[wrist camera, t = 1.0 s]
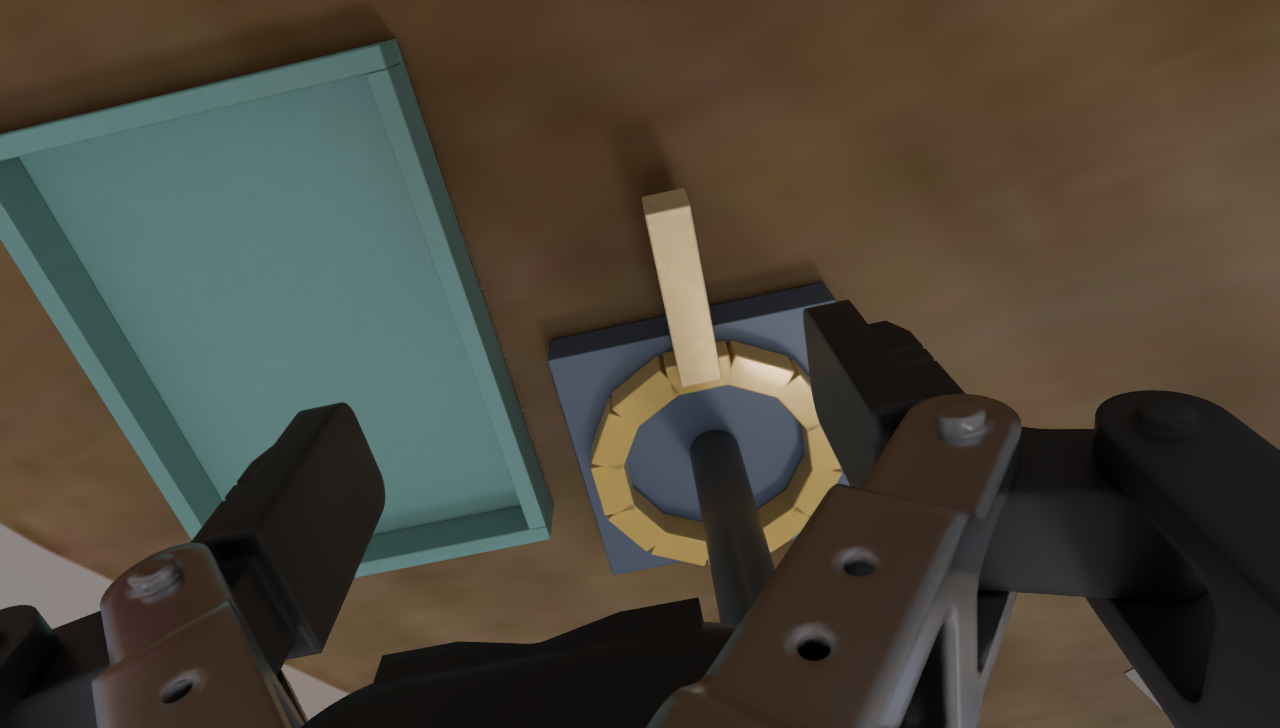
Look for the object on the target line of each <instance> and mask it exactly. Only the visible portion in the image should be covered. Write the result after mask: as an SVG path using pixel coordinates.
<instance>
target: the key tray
mask: <svg viewBox="0 0 1280 728" xmlns="http://www.w3.org/2000/svg"><path fill="white" fill-rule="evenodd" d="M0 240H1V241H2V243H3V244H4V246H5V247H6V249H7V251H8V252H9V254H10V255H11V257H12V258H13V260H14V262H15V263H16V265H17V266H18V268H19V269H20V271H21V273H22V274H23V276H24V277H25V279H26V280H27V282H28V284H29V285H30V287H31V288H32V290H33V291H34V293H35V295H36V296H37V298H38V299H39V301H40V302H41V304H42V306H43V307H44V309H45V310H46V312H47V313H48V315H49V317H50V318H51V320H52V321H53V323H54V324H55V326H56V328H57V329H58V331H59V332H60V334H61V335H62V337H63V339H64V340H65V342H66V343H67V345H68V346H69V348H70V350H71V351H72V353H73V354H74V356H75V357H76V359H77V361H78V362H79V364H80V365H81V367H82V368H83V370H84V372H85V373H86V375H87V376H88V378H89V379H90V381H91V383H92V384H93V386H94V387H95V389H96V390H97V392H98V394H99V395H100V397H101V398H102V400H103V401H104V403H105V405H106V406H107V408H108V409H109V411H110V412H111V414H112V416H113V417H114V419H115V420H116V422H117V423H118V425H119V426H120V428H121V430H122V431H123V433H124V434H125V436H126V437H127V439H128V441H129V442H130V444H131V445H132V447H133V448H134V450H135V452H136V453H137V455H138V456H139V458H140V459H141V461H142V463H143V464H144V466H145V467H146V469H147V470H148V472H149V474H150V475H151V477H152V478H153V480H154V481H155V483H156V485H157V486H158V488H159V489H160V491H161V492H162V494H163V496H164V497H165V499H166V500H167V502H168V503H169V505H170V507H171V508H172V510H173V511H174V513H175V514H176V516H177V518H178V519H179V521H180V522H181V524H182V525H183V527H184V529H185V530H186V532H187V533H188V535H189V536H190V538H191V540H193V538H194V537H195V536H196V534H197V533H198V532H199V530H200V529H201V528H202V527H203V525H204V524H205V523H206V521H207V520H208V519H209V517H210V516H211V515H212V513H213V512H214V511H215V509H216V508H217V507H218V505H219V504H220V503H221V502H222V501H225V496H226V495H227V494H228V492H229V491H230V490H231V488H232V487H233V486H234V485H237V480H238V479H239V478H240V477H241V475H242V474H243V473H244V471H245V470H246V469H247V467H248V466H249V465H250V463H251V462H252V461H254V460H255V459H256V458H257V457H259V456H260V455H261V454H262V453H264V452H265V451H266V450H267V449H269V448H270V447H271V446H273V445H274V444H275V442H276V441H277V440H278V438H279V437H280V436H281V434H282V433H283V432H284V430H285V429H286V428H287V426H288V425H289V424H290V422H291V421H292V420H293V418H294V417H295V415H296V414H297V413H298V412H299V411H301V410H306V409H311V408H316V407H321V406H326V405H331V404H335V403H340V402H344V403H346V404H348V405H349V406H350V407H351V408H352V410H353V411H354V413H355V415H356V417H357V420H358V422H359V424H360V426H361V429H362V431H363V433H364V436H365V438H366V440H367V442H368V445H369V447H370V449H371V451H372V454H373V456H374V458H375V461H376V463H377V465H378V467H379V470H380V472H381V474H382V477H383V481H384V485H385V506H384V510H383V512H382V515H381V517H380V519H379V521H378V524H377V526H376V528H375V531H374V533H373V535H372V538H371V540H370V542H369V544H368V547H367V549H366V551H365V554H364V556H363V558H362V561H361V563H360V565H359V568H358V570H357V572H356V574H355V577H354V578H356V577H361V576H366V575H371V574H377V573H382V572H387V571H392V570H397V569H402V568H407V567H412V566H417V565H422V564H427V563H432V562H437V561H442V560H447V559H452V558H457V557H462V556H468V555H473V554H478V553H483V552H488V551H493V550H498V549H503V548H508V547H513V546H518V545H523V544H528V543H533V542H538V541H543V540H548V539H550V537H551V526H552V515H553V504H552V501H551V498H550V495H549V492H548V489H547V486H546V483H545V480H544V477H543V474H542V471H541V468H540V465H539V462H538V459H537V456H536V453H535V450H534V448H533V445H532V442H531V439H530V436H529V433H528V430H527V427H526V424H525V421H524V418H523V415H522V412H521V409H520V406H519V403H518V400H517V397H516V394H515V391H514V388H513V385H512V382H511V379H510V376H509V373H508V370H507V367H506V364H505V361H504V358H503V355H502V352H501V349H500V346H499V343H498V341H497V338H496V335H495V332H494V329H493V326H492V323H491V320H490V317H489V314H488V311H487V308H486V305H485V302H484V299H483V296H482V293H481V290H480V287H479V284H478V281H477V278H476V275H475V272H474V269H473V266H472V263H471V260H470V257H469V254H468V251H467V248H466V245H465V242H464V239H463V236H462V234H461V231H460V228H459V225H458V222H457V219H456V216H455V213H454V210H453V207H452V204H451V201H450V198H449V195H448V192H447V189H446V186H445V183H444V180H443V177H442V174H441V171H440V168H439V165H438V162H437V159H436V156H435V153H434V150H433V147H432V144H431V141H430V138H429V135H428V132H427V129H426V127H425V124H424V121H423V118H422V115H421V112H420V109H419V106H418V103H417V100H416V97H415V94H414V91H413V88H412V85H411V82H410V79H409V76H408V73H407V70H406V67H405V64H404V61H403V58H402V55H401V52H400V49H399V46H398V43H397V40H396V39H392V40H388V41H383V42H379V43H375V44H371V45H367V46H363V47H358V48H354V49H350V50H346V51H342V52H338V53H334V54H329V55H325V56H321V57H317V58H313V59H309V60H304V61H300V62H296V63H292V64H288V65H284V66H279V67H275V68H271V69H267V70H263V71H259V72H255V73H250V74H246V75H242V76H238V77H234V78H230V79H225V80H221V81H217V82H213V83H209V84H205V85H200V86H196V87H192V88H188V89H184V90H180V91H176V92H171V93H167V94H163V95H159V96H155V97H151V98H146V99H142V100H138V101H134V102H130V103H126V104H121V105H117V106H113V107H109V108H105V109H101V110H97V111H92V112H88V113H84V114H80V115H76V116H72V117H67V118H63V119H59V120H55V121H51V122H47V123H42V124H38V125H34V126H30V127H26V128H22V129H18V130H13V131H9V132H5V133H1V134H0Z"/></svg>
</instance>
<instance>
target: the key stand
mask: <svg viewBox="0 0 1280 728" xmlns="http://www.w3.org/2000/svg"><path fill="white" fill-rule="evenodd" d="M834 302H837V301H836V299H835V297H834V296H833V295H832V293H831V292H830V290H829V289H828V288H827V286H826V285H825V284H824V282H822V283H817V284H812V285H808V286H803V287H798V288H794V289H789V290H784V291H780V292H775V293H770V294H766V295H761V296H756V297H752V298H747V299H742V300H737V301H733V302H728V303H723V304H719V305H714V306H709V309H710V315H711V320H712V325H713V331H714V336H715V342H717V341H722V340H724V341H725V343H726V346H727V347H728V344H729V342H730V341H731V340H732V341H736V342H739V343H743V344H747V345H750V346H754V347H757V348H761V349H764V350H768V351H772V352H775V353H779V354H782V355H786V356H788V358H789V360H790V361H791V360H794V361H795V362H796V363H797V364H798V365H799V366H800V367H801V368H802V369H803V370H804V372H805V373H806V374H807V375H808V376H809V377H810V374H809V366H808V357H807V349H806V340H805V332H804V323H803V311H804V309H805V308H809V307H814V306H819V305H824V304H829V303H834ZM670 351H674V349H673V345H672V340H671V335H670V331H669V326H668V321H667V317H666V316H663V317H658V318H653V319H649V320H644V321H639V322H634V323H630V324H625V325H620V326H616V327H611V328H606V329H602V330H597V331H592V332H588V333H583V334H578V335H574V336H569V337H564V338H560V339H555V340H551V341H550V348H549V355H548V365H549V368H550V371H551V374H552V378H553V381H554V384H555V387H556V391H557V394H558V397H559V401H560V404H561V407H562V410H563V414H564V417H565V420H566V423H567V427H568V430H569V433H570V436H571V440H572V443H573V446H574V450H575V453H576V456H577V459H578V463H579V466H580V469H581V472H582V476H583V479H584V482H585V485H586V489H587V492H588V495H589V499H590V502H591V505H592V508H593V512H594V515H595V518H596V521H597V525H598V528H599V531H600V534H601V538H602V541H603V544H604V548H605V551H606V554H607V557H608V561H609V564H610V567H611V570H612V574H613V575H616V574H621V573H626V572H631V571H636V570H641V569H647V568H652V567H657V566H662V565H667V564H672V563H677V562H683V561H679V560H675V559H670V558H665V557H661V556H656V555H652V554H651V549H650V550H648V551H645V550H644V549H642V548H641V547H640V546H639V545H638V544H636V543H635V542H634V541H633V540H632V539H630V538H629V537H628V536H627V535H626V534H624V533H623V532H622V531H621V530H620V529H618V528H617V527H616V526H615V525H614V524H612V523H611V522H610V521H609V520H608V515H604V512H603V508H602V505H601V502H600V498H599V495H598V492H597V488H596V485H595V482H594V478H593V475H592V471H591V447H592V443H593V440H594V437H595V434H596V431H597V428H598V425H599V423H600V420H601V417H602V414H603V411H604V408H605V405H606V402H607V400H608V398H612V392H613V391H614V390H615V389H617V388H618V387H619V386H620V385H621V384H623V383H624V382H625V381H626V380H628V379H629V378H630V377H631V376H632V375H634V374H635V373H636V372H637V371H639V370H640V369H641V368H642V367H643V366H645V365H646V364H647V363H648V362H650V361H651V360H652V359H653V358H654V357H656V356H659V357H660V358H661V359H662V360H663V361H664V359H663V353H665V352H670ZM803 455H804V445H803V438H802V430H801V423H800V422H799V421H798V420H797V419H796V418H795V417H794V416H793V415H792V414H791V413H790V412H789V411H788V410H787V409H786V408H785V407H784V405H783V404H782V403H781V402H780V401H779V400H778V399H777V398H775V397H771V396H767V395H764V394H760V393H756V392H752V391H749V390H745V389H741V388H737V387H734V386H730V385H726V386H721V387H716V388H712V389H707V390H702V391H697V392H692V393H687V394H683V395H678V396H677V397H676V398H674V399H673V400H672V401H671V402H669V403H668V404H667V405H665V406H664V407H663V408H662V409H660V410H659V411H658V412H657V413H655V414H654V415H653V416H652V417H650V418H649V419H648V420H647V421H645V422H644V423H643V424H641V425H640V426H639V428H638V430H637V433H636V436H635V438H634V441H633V444H632V446H631V449H630V452H629V454H628V457H627V460H626V461H627V465H628V469H629V472H630V476H631V480H632V484H633V487H634V488H635V489H636V490H637V491H638V492H639V493H641V494H642V495H643V496H644V497H645V498H646V499H647V500H649V501H650V502H651V503H652V504H653V505H654V506H655V507H657V508H658V509H659V510H660V511H661V512H662V513H664V514H669V515H673V516H677V517H682V518H686V519H690V520H695V521H699V522H702V524H703V529H704V535H705V540H706V546H707V551H708V557H709V562H710V568H711V573H712V579H713V584H714V589H715V595H716V600H717V606H718V611H719V617H720V622H721V623H722V624H729V625H736V626H738V625H739V623H740V622H741V620H742V619H743V617H744V616H745V614H746V613H747V611H748V610H749V608H750V607H751V605H752V604H753V602H754V601H755V599H756V598H757V596H758V595H759V593H760V592H761V590H762V589H763V587H764V586H765V584H766V583H767V581H768V580H769V578H770V577H771V575H772V574H773V572H774V571H775V568H774V564H773V561H772V558H771V554H770V551H769V547H768V544H767V540H766V537H765V534H764V530H763V527H762V523H761V520H760V516H759V513H758V509H759V508H760V507H761V506H763V505H764V504H766V503H767V502H769V501H770V500H771V499H773V498H774V497H776V496H777V495H778V494H780V493H781V492H783V491H784V490H785V489H787V487H788V485H789V483H790V481H791V479H792V477H793V475H794V473H795V471H796V469H797V467H798V465H799V463H800V461H801V459H802V457H803ZM841 471H842V475H841V477H840V479H839V481H838V483H837V484H844V485H849V486H850V484H849V482H848V480H847V478H846V476H845V474H844V472H843V470H842V468H841ZM798 535H799V534H798ZM798 535H796V536H795V537H793V538H792V539H790V540H789V541H791V540H795V539H796V538H797V536H798Z"/></svg>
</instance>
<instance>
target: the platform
mask: <svg viewBox="0 0 1280 728" xmlns="http://www.w3.org/2000/svg"><path fill="white" fill-rule="evenodd" d="M1125 675H1126V676H1127V677H1128V678H1129V679H1130V680H1131V681H1133V682H1134V683H1135V684H1136V685H1137V686H1138V687H1139V688H1140V689H1141V690H1142V691H1143V692H1144V693H1145V694H1146V695H1147V696H1148V697H1149V698H1150V699H1151V700H1152V701H1153V702H1154V703H1155V704H1156V705H1157V706H1158V707H1159V708H1160V709H1161V710H1163V709H1162V708H1161V706H1160V705H1159V703H1158V702H1157V701H1156V699H1155V698H1154V696H1153V695H1152V693H1151V692H1150V690H1149V689H1148V688H1147V686H1146V685H1145V683H1144V682H1143V680H1142V679H1141V677H1140V676H1139V675H1138V673H1137V672H1136V670H1135V669H1132V670H1130V671H1128V672H1127V673H1125Z"/></svg>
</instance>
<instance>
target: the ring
mask: <svg viewBox="0 0 1280 728" xmlns="http://www.w3.org/2000/svg"><path fill="white" fill-rule="evenodd" d="M642 203H643V209H644V214H645V219H646V224H647V229H648V233H649V238H650V243H651V247H652V252H653V257H654V261H655V266H656V270H657V275H658V280H659V284H660V289H661V294H662V298H663V303H664V308H665V312H666V317H667V321H668V326H669V331H670V335H671V340H672V345H673V349H674V351H670V352H665V353H663V359H664V361H663V360H662V359H661V358H660V357H659V356H656V357H654V358H653V359H652V360H651V361H650V362H648V363H647V364H646V365H645V366H643V367H642V368H641V369H640V370H639V371H637V372H636V373H635V374H634V375H632V376H631V377H630V378H629V379H628V380H626V381H625V382H624V383H623V384H621V385H620V386H619V387H618V388H617V389H615V390H614V391H613V392H612V398H608V400H607V402H606V405H605V408H604V411H603V414H602V417H601V420H600V423H599V425H598V428H597V431H596V434H595V437H594V440H593V443H592V447H591V471H592V475H593V478H594V482H595V485H596V488H597V492H598V495H599V498H600V502H601V505H602V508H603V512H604V515H608V520H609V521H610V522H611V523H612V524H614V525H615V526H616V527H617V528H618V529H620V530H621V531H622V532H623V533H624V534H626V535H627V536H628V537H629V538H630V539H632V540H633V541H634V542H635V543H636V544H638V545H639V546H640V547H641V548H642V549H644V550H645V551H648V550H650V549H651V554H652V555H656V556H661V557H665V558H670V559H675V560H679V561H684V562H688V563H693V564H697V565H702V566H704V565H705V563H706V561H707V559H708V562H709V557H708V551H707V546H706V540H705V535H704V529H703V524H702V522H699V521H695V520H690V519H686V518H682V517H677V516H673V515H669V514H664V513H662V512H661V511H660V510H659V509H658V508H657V507H655V506H654V505H653V504H652V503H651V502H650V501H649V500H647V499H646V498H645V497H644V496H643V495H642V494H641V493H639V492H638V491H637V490H636V489H635V488H634V487H633V484H632V480H631V476H630V472H629V469H628V465H627V461H626V460H627V457H628V454H629V452H630V449H631V446H632V444H633V441H634V438H635V436H636V433H637V430H638V428H639V426H640V425H641V424H643V423H644V422H645V421H647V420H648V419H649V418H650V417H652V416H653V415H654V414H655V413H657V412H658V411H659V410H660V409H662V408H663V407H664V406H665V405H667V404H668V403H669V402H671V401H672V400H673V399H674V398H676V397H677V396H678V395H683V394H687V393H692V392H697V391H702V390H707V389H712V388H716V387H721V386H726V385H730V386H734V387H737V388H741V389H745V390H749V391H752V392H756V393H760V394H764V395H767V396H771V397H775V398H777V399H778V400H779V401H780V402H781V403H782V404H783V405H784V407H785V408H786V409H787V410H788V411H789V412H790V413H791V414H792V415H793V416H794V417H795V418H796V419H797V420H798V421H799V422H800V423H801V430H802V438H803V445H804V455H803V457H802V459H801V461H800V463H799V465H798V467H797V469H796V471H795V473H794V475H793V477H792V479H791V481H790V483H789V485H788V487H787V489H785V490H784V491H783V492H781V493H780V494H778V495H777V496H776V497H774V498H773V499H771V500H770V501H769V502H767V503H766V504H764V505H763V506H761V507H760V508H759V509H758V513H759V516H760V520H761V523H762V527H763V530H764V534H765V537H766V540H767V544H768V547H769V551H770V553H771V552H773V551H774V550H776V549H777V548H779V547H780V546H781V545H783V544H784V543H786V542H787V541H789V540H790V539H792V538H793V537H795V536H796V535H798V534H799V533H800V532H801V530H802V529H803V527H804V526H805V524H806V523H807V521H808V520H809V518H810V517H811V515H812V514H813V512H814V511H815V509H816V508H817V506H818V505H819V503H820V502H821V500H822V499H823V497H824V496H825V494H826V493H827V492H828V490H829V489H830V488H831V487H832V486H833V485H835V484H837V483H838V481H839V479H840V477H841V475H842V471H841V466H840V464H839V462H838V460H837V458H836V456H835V454H834V452H833V450H832V448H831V446H830V444H829V442H828V440H827V438H826V435H825V433H824V431H823V429H822V427H821V425H820V423H819V420H818V417H817V414H816V410H815V406H814V402H813V397H812V390H811V382H810V377H809V376H808V375H807V374H806V373H805V372H804V370H803V369H802V368H801V367H800V366H799V365H798V364H797V363H796V362H795V361H794V360H791V361H790V360H789V358H788V356H786V355H782V354H779V353H775V352H772V351H768V350H764V349H761V348H757V347H754V346H750V345H747V344H743V343H739V342H736V341H732V340H731V341H730V342H729V344H728V347H727V346H726V343H725V341H724V340H722V341H717V342H715V336H714V331H713V325H712V320H711V315H710V309H709V304H708V298H707V293H706V288H705V282H704V277H703V271H702V266H701V261H700V255H699V250H698V244H697V239H696V234H695V228H694V223H693V217H692V212H691V207H690V204H689V201H688V199H687V196H686V193H685V191H684V189H683V188H681V189H676V190H672V191H667V192H663V193H658V194H654V195H649V196H645V197H642ZM709 566H710V562H709Z"/></svg>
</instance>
